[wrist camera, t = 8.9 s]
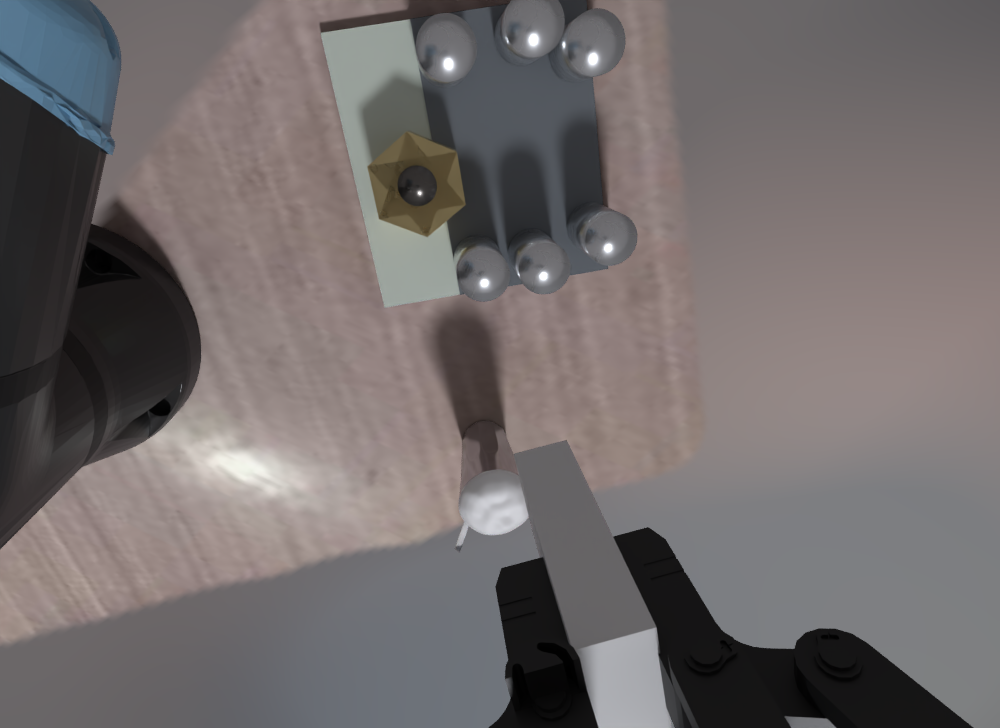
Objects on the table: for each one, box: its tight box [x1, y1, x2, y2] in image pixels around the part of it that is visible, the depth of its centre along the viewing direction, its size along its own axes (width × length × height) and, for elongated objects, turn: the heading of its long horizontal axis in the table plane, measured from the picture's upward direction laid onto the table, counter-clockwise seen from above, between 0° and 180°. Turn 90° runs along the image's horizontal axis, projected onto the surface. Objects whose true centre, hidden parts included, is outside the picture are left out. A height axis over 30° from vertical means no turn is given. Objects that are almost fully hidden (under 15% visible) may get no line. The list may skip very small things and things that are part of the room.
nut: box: [367, 131, 466, 237], centre depth 35 cm, size 6×5×3 cm
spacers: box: [416, 0, 637, 302], centre depth 34 cm, size 10×15×5 cm
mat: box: [321, 0, 608, 308], centre depth 37 cm, size 15×16×1 cm
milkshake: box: [455, 421, 529, 552], centre depth 40 cm, size 4×5×10 cm
